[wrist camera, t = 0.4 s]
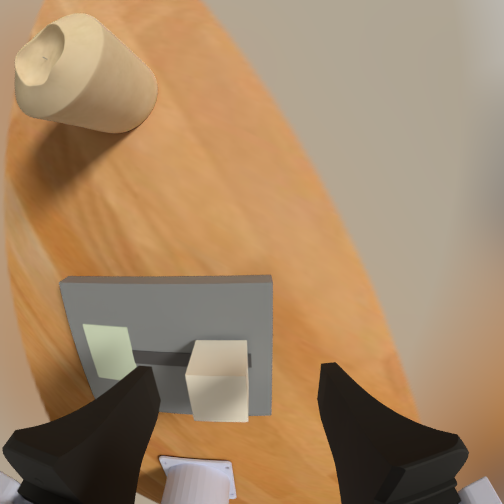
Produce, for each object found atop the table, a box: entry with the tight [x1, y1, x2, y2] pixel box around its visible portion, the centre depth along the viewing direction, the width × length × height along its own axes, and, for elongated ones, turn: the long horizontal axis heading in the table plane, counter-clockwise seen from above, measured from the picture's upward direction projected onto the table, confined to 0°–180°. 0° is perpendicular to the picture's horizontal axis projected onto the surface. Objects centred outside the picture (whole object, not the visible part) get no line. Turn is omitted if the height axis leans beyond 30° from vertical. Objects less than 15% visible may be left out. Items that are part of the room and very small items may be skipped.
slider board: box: [59, 275, 273, 416], centre depth 21 cm, size 12×16×2 cm
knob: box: [185, 340, 249, 422], centre depth 18 cm, size 4×4×4 cm
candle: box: [15, 13, 158, 133], centre depth 12 cm, size 6×6×10 cm
